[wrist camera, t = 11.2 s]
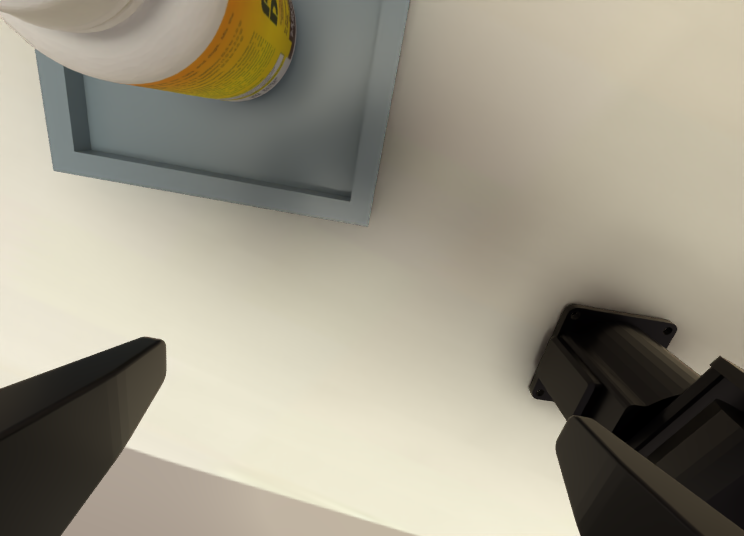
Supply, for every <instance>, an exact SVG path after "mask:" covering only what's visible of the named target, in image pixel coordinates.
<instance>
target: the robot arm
mask: <svg viewBox="0 0 744 536" xmlns="http://www.w3.org/2000/svg"><path fill="white" fill-rule="evenodd" d="M574 312H576V314H575V315H573V316H571V315H572V313H574ZM665 328H666V329H665ZM664 329H665V330H664ZM663 330H664V331H663ZM676 331H677V326H676V325H675V324H673V323H672V322H670V321H668V320H665V319H659V318H653V317H647V316H641V315H635V314H629V313H623V312H618V311H612V310H606V309H600V308H594V307H588V306H582V305H576V304H572V305H569V306H567V307H566V308H565V309H564V311H563V313H562V315H561V318H560V320H559V322H558V324H557V327H556V329H555V331H554V333H553V336H552V338H551V339H550V340H549V343H548V345H547V347H546V349H545V352H544V354H543V356H542V358H541V361H540V363H539V365H538V367H537V370H536V374H535V376H534V378H533V381H532V383H531V385H530V388H529V391H530V393H531V395H532V396H533V397H534V398H535V399H539V400H546V401H553V402H555V404H556V405H557V407H558V408H559V410H560V411H561V413H562V414H563V416H564V417H565V419H566V421H567V422H566V424H565V426H564V428H563V429H562V431H561V433H560V435H559V437H558V439H557V441H556V454H557V458H558V461H559V465H560V469H561V472H562V476H563V479H564V483H565V486H566V490H567V493H568V497H569V500H570V504H571V507H572V511H573V514H574V517H575V521H576V524H577V527H578V530H579V533H580V535H581V536H744V370H743V369H742V368H740V367H738V366H736V365H735V364H733V363H731V362H730V361H728V360H726V359H725V358H723V357H721V356H719V357H718V358H717V359H716V360H714V361H713V362H712V363H711V364H710V366H711V368H710V369H708V370H707V371H706V372H705V373H704V374H703V375H702V376H700V375H699V374H698V373H696V372H695V371H694V370H692V369H691V368H690V367H688V366H687V365H686V364H685V363H683V362H682V361H681V360H679V359H678V358H677V357H676V356H674V355H673V354H672V353H670V352H669V351H668V350H667V349H666V348H667V347H668V345H669V343H670V342H671V340H672V338H673V337H674V335H675V333H676ZM165 376H166V344H165V342H164V341H163V340H161V339H156V338H151V337H141V338H138V339H135V340H132V341H130V342H127V343H124V344H121V345H119V346H116V347H113V348H111V349H108V350H105V351H102V352H100V353H97V354H94V355H91V356H89V357H86V358H83V359H80V360H78V361H75V362H72V363H69V364H67V365H64V366H61V367H58V368H56V369H53V370H50V371H47V372H45V373H42V374H39V375H37V376H34V377H31V378H28V379H26V380H23V381H20V382H17V383H15V384H12V385H9V386H6V387H4V388H1V389H0V536H61V535H62V533H63V532H64V530H65V529H66V528H67V526H68V525H69V524H70V522H71V521H72V519H73V518H74V517H75V515H76V514H77V513H78V511H79V510H80V509H81V507H82V506H83V504H84V503H85V502H86V500H87V499H88V498H89V496H90V495H91V494H92V492H93V491H94V489H95V488H96V487H97V485H98V484H99V483H100V481H101V480H102V478H103V477H104V476H105V474H106V473H107V472H108V470H109V469H110V467H111V466H112V465H113V463H114V462H115V461H116V459H117V458H118V456H119V455H120V453H121V452H122V450H123V449H124V447H125V446H126V444H127V443H128V441H129V439H130V438H131V436H132V434H133V433H134V431H135V429H136V428H137V426H138V424H139V422H140V421H141V419H142V417H143V416H144V414H145V412H146V411H147V409H148V407H149V406H150V404H151V402H152V400H153V399H154V397H155V395H156V394H157V392H158V390H159V389H160V387H161V385H162V383H163V382H164V379H165ZM538 390H540V391H538Z"/></svg>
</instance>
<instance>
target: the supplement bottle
mask: <svg viewBox="0 0 744 536" xmlns="http://www.w3.org/2000/svg"><path fill="white" fill-rule="evenodd" d="M0 17H1V18H2V19H3V20H4V21H5V23H6V24H8V25H9V26H10V27H11V28H12V29H13V30H14V31H15V32H16V33H17V34H18V35H20V36H21V37H22V38H23V39H24V40H25V41H27V42H28V43H29V44H30V45H31V46H33V47H34V48H35V49H37V50H38V51H39V52H41V53H42V54H44V55H46V56H47V57H49V58H50V59H52V60H54V61H55V62H57V63H59V64H61V65H63V66H65V67H67V68H69V69H71V70H74V71H76V72H79V73H81V74H84V75H87V76H90V77H94V78H97V79H101V80H105V81H110V82H114V83H120V84H127V85H133V86H139V87H145V88H152V89H157V90H163V91H169V92H175V93H180V94H186V95H192V96H198V97H204V98H210V99H216V100H222V101H232V102H239V101H247V100H251V99H254V98H257V97H259V96H261V95H263V94H265V93H267V92H268V91H269V90H271V89H272V88H273V87H274V86H275V85H276V84H277V83H278V82H279V81H280V80H281V78H282V77H283V76H284V74H285V73H286V71H287V69H288V67H289V65H290V62H291V60H292V57H293V53H294V50H295V44H296V18H295V11H294V7H293V3H292V0H0Z"/></svg>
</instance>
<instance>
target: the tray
mask: <svg viewBox="0 0 744 536" xmlns="http://www.w3.org/2000/svg"><path fill="white" fill-rule="evenodd" d="M292 3H293V7H294V11H295V18H296V44H295V50H294V53H293V57H292V60H291V62H290V65H289V67H288V69H287V71H286V73H285V74H284V76H283V77H282V78H281V80H280V81H279V82H278V83H277V84H276V85H275V86H274V87H273V88H272V89H271V90H269V91H268V92H267V93H265V94H263V95H261V96H259V97H257V98H254V99H251V100H247V101H239V102H232V101H222V100H216V99H210V98H204V97H198V96H192V95H186V94H180V93H175V92H169V91H163V90H157V89H152V88H145V87H139V86H133V85H127V84H120V83H114V82H110V81H105V80H101V79H97V78H94V77H90V76H87V75H84V74H81V73H79V72H76V71H74V70H71V69H69V68H67V67H65V66H63V65H61V64H59V63H57V62H55V61H54V60H52V59H50V58H49V57H47V56H46V55H44V54H42V53H41V52H39V51H38V50H37V49H35V53H36V59H37V66H38V72H39V79H40V85H41V92H42V98H43V105H44V111H45V118H46V125H47V131H48V138H49V144H50V151H51V157H52V164H53V170H54V171H57V172H63V173H69V174H74V175H80V176H85V177H91V178H97V179H102V180H108V181H113V182H119V183H125V184H130V185H136V186H142V187H147V188H153V189H158V190H164V191H170V192H175V193H181V194H186V195H192V196H198V197H203V198H209V199H214V200H220V201H226V202H231V203H237V204H243V205H248V206H254V207H259V208H265V209H271V210H276V211H282V212H287V213H293V214H299V215H304V216H310V217H316V218H321V219H327V220H332V221H338V222H344V223H349V224H355V225H360V226H366V227H368V225H369V219H370V214H371V208H372V203H373V198H374V192H375V187H376V181H377V176H378V171H379V165H380V160H381V154H382V149H383V144H384V138H385V133H386V127H387V122H388V117H389V111H390V106H391V100H392V95H393V90H394V84H395V79H396V73H397V68H398V63H399V57H400V52H401V47H402V41H403V36H404V30H405V25H406V20H407V14H408V9H409V3H410V0H292Z"/></svg>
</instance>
